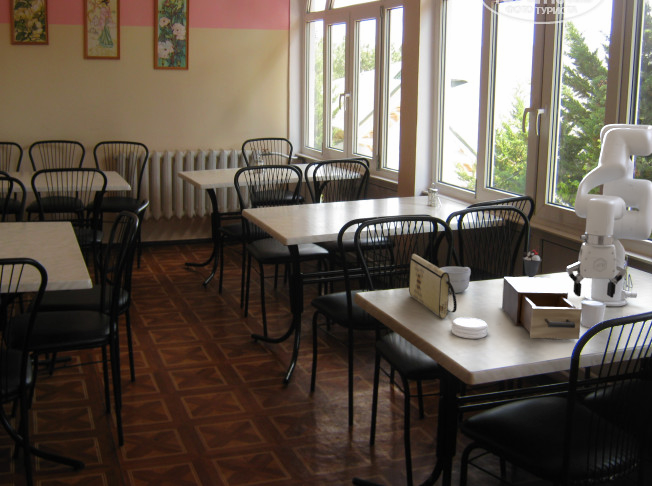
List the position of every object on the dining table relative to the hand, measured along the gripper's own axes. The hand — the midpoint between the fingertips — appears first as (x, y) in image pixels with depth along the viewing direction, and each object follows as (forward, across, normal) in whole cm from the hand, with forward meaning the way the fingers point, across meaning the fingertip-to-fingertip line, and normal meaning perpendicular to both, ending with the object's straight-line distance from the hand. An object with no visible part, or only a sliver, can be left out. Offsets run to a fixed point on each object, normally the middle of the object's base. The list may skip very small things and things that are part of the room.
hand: (593, 295), depth 221 cm
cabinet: (+9, -16, +6) cm, 19 cm away
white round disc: (+10, -39, -10) cm, 41 cm away
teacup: (+9, -34, +36) cm, 51 cm away
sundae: (+9, -6, +44) cm, 46 cm away
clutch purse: (+10, -45, +16) cm, 49 cm away
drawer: (+9, -16, -10) cm, 20 cm away
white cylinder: (+9, 0, +1) cm, 9 cm away
